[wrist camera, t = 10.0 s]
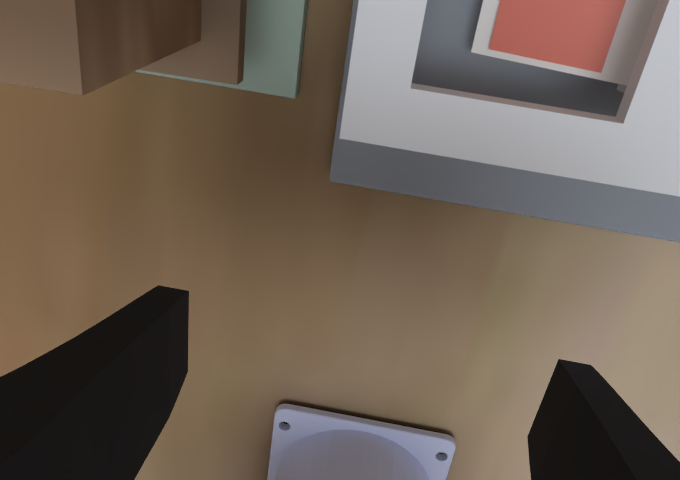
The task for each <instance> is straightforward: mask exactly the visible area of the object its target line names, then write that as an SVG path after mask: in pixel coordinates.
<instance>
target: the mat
mask: <svg viewBox="0 0 680 480" xmlns="http://www.w3.org/2000/svg"><path fill="white" fill-rule="evenodd" d="M307 5H308V0H247V9H246V31H245V53H244V74H243V81H242V82H241V83H239V84H238V85H233V84H226V83H220V82H213V81H207V80H200V79H194V78H188V77H181V76H175V75H168V74H162V73H156V72H149V71H143V70H136V71H134V72H140V73H146V74H152V75H158V76H164V77H170V78H176V79H182V80H188V81H194V82H200V83H206V84H211V85H217V86H223V87H229V88H235V89H241V90H247V91H253V92H259V93H265V94H271V95H277V96H283V97H289V98H296V97H297V95H298V92H299V82H300V73H301V63H302V53H303V43H304V34H305V24H306V14H307Z"/></svg>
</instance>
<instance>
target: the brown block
mask: <svg viewBox="0 0 680 480" xmlns="http://www.w3.org/2000/svg"><path fill="white" fill-rule="evenodd" d="M246 9H247V0H0V82H1V83H7V84H13V85H20V86H26V87H32V88H39V89H45V90H51V91H58V92H64V93H70V94H76V95H85V94H87V93H89V92H91V91H93V90H95V89H98V88H100V87H102V86H104V85H106V84H108V83H110V82H113V81H115V80H117V79H119V78H121V77H123V76H126V75H128V74H130V73H132V72H134V71H136V70H143V71H149V72H156V73H162V74H168V75H175V76H181V77H188V78H194V79H200V80H207V81H213V82H220V83H226V84H233V85H238V84H239V83H241V82H242V81H243V74H244V53H245V31H246Z"/></svg>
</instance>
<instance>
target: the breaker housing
mask: <svg viewBox="0 0 680 480" xmlns="http://www.w3.org/2000/svg"><path fill="white" fill-rule="evenodd" d="M482 3H483V0H353V7H352V15H351V22H350V29H349V37H348V44H347V51H346V58H345V66H344V73H343V80H342V88H341V95H340V102H339V110H338V117H337V124H336V131H335V139H334V146H333V153H332V161H331V168H330V175H329V181H330V182H335V183H341V184H347V185H353V186H358V187H364V188H370V189H376V190H381V191H387V192H393V193H399V194H404V195H410V196H416V197H421V198H427V199H433V200H439V201H444V202H450V203H456V204H462V205H467V206H473V207H479V208H484V209H490V210H496V211H502V212H507V213H513V214H519V215H525V216H530V217H536V218H542V219H548V220H553V221H559V222H565V223H570V224H576V225H582V226H588V227H593V228H599V229H605V230H611V231H616V232H622V233H628V234H634V235H639V236H645V237H651V238H656V239H662V240H668V241H674V242H679V243H680V0H658V2H657V5H656V8H655V10H654V13H653V16H652V19H651V21H650V24H649V27H648V30H647V32H646V35H645V38H644V41H643V43H642V46H641V49H640V52H639V54H638V57H637V60H636V62H635V65H634V68H633V71H632V73H631V76H630V79H629V82H628V84H627V87H626V90H625V93H623V92H620V91H618V90H617V87H618V84H616V83H612V82H607V81H603V80H598V79H593V78H589V77H584V76H579V75H575V74H570V73H565V72H561V71H556V70H551V69H547V68H542V67H537V66H533V65H528V64H523V63H519V62H514V61H509V60H505V59H500V58H495V57H491V56H486V55H481V54H477V53H472V52H471V50H472V46H473V41H474V37H475V33H476V29H477V24H478V20H479V16H480V12H481V7H482Z"/></svg>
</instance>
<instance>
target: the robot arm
mask: <svg viewBox="0 0 680 480" xmlns="http://www.w3.org/2000/svg"><path fill="white" fill-rule="evenodd" d="M188 310H189V291H186V290H180V289H175V288H169V287H164V286H157V287H155V288H154V289H152V290H150V291H149V292H147V293H145V294H144V295H142V296H141V297H139V298H137V299H136V300H134V301H133V302H131V303H130V304H128V305H126V306H125V307H123V308H122V309H120V310H119V311H117V312H115V313H114V314H112V315H111V316H109V317H107V318H106V319H104V320H102V321H101V322H99V323H98V324H96V325H94V326H93V327H91V328H89V329H88V330H86V331H84V332H83V333H81V334H80V335H78V336H76V337H75V338H73V339H71V340H69V341H67V342H66V343H64V344H62V345H60V346H58V347H56V348H55V349H53V350H51V351H49V352H47V353H46V354H44V355H42V356H40V357H38V358H37V359H35V360H33V361H31V362H29V363H27V364H26V365H24V366H22V367H20V368H18V369H16V370H14V371H12V372H10V373H8V374H6V375H4V376H1V377H0V480H134V479H135V477H136V475H137V474H138V472H139V470H140V468H141V467H142V465H143V463H144V461H145V459H146V458H147V456H148V454H149V452H150V451H151V449H152V447H153V445H154V444H155V442H156V440H157V438H158V436H159V435H160V433H161V431H162V429H163V427H164V426H165V424H166V422H167V420H168V418H169V416H170V414H171V412H172V409H173V407H174V404H175V402H176V400H177V397H178V395H179V392H180V390H181V387H182V385H183V382H184V380H185V377H186V375H187V372H188ZM282 422H287V423H288V424H284V423H282ZM528 448H529V461H530V472H531V480H680V462H679V461H678V460H677V459H676V458H675V457H674V456H673V455H672V454H671V452H670V451H669V450H668V449H667V448H666V447H665V446H664V445H663V444H662V443H661V442H660V441H659V439H658V438H657V437H656V436H655V435H654V434H653V433H652V432H651V431H650V430H649V428H648V427H647V426H646V425H645V424H644V423H643V422H642V421H641V420H640V418H639V417H638V416H637V415H636V414H635V413H634V412H633V411H632V409H631V408H630V407H629V406H628V405H627V404H626V403H625V402H624V400H623V399H622V398H621V397H620V396H619V395H618V394H617V393H616V391H615V390H614V389H613V388H612V387H611V386H610V385H609V384H608V382H607V381H606V380H605V379H604V378H603V377H602V376H601V375H600V374H599V373H598V372H597V371H596V370H595V369H594V368H593V367H592V366H591V365H587V364H582V363H577V362H571V361H566V360H560V359H559V360H558V362H557V365H556V367H555V370H554V372H553V375H552V377H551V380H550V382H549V385H548V387H547V390H546V392H545V395H544V397H543V400H542V402H541V405H540V407H539V409H538V412H537V414H536V417H535V419H534V422H533V424H532V427H531V429H530V432H529V434H528ZM455 450H456V445H455V440H454V438H453V437H452V436H450V435H447V434H443V433H437V432H432V431H427V430H422V429H417V428H411V427H406V426H401V425H396V424H391V423H385V422H380V421H375V420H370V419H364V418H359V417H354V416H349V415H344V414H338V413H333V412H328V411H323V410H318V409H312V408H307V407H302V406H297V405H292V404H281V405H279V406H278V407H277V409H276V412H275V416H274V424H273V433H272V442H271V451H270V460H269V469H268V477H267V480H446V478H447V475H448V472H449V469H450V465H451V462H452V459H453V456H454V453H455ZM439 452H443V453H444V454H439Z"/></svg>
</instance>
